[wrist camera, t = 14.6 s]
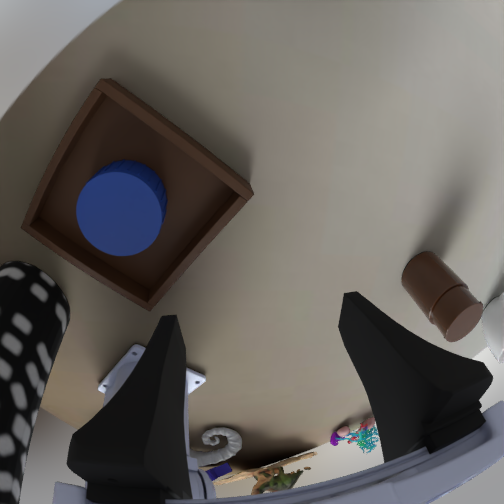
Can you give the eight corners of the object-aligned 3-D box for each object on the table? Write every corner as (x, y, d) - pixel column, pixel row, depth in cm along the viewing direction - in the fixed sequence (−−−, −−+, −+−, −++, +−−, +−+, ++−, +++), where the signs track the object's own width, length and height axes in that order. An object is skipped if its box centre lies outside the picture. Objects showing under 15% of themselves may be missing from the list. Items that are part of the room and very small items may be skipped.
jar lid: (161, 152, 17) (154, 163, 15) (173, 231, 20) (170, 252, 18) (81, 167, 17) (65, 179, 15) (99, 241, 20) (88, 261, 17)
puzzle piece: (218, 467, 33) (225, 477, 32) (232, 458, 43) (237, 466, 42) (157, 491, 31) (163, 500, 30) (183, 480, 41) (187, 487, 41)
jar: (415, 297, 27) (454, 349, 21) (393, 279, 26) (436, 335, 19) (444, 264, 26) (489, 312, 20) (425, 242, 24) (476, 293, 18)
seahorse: (224, 419, 31) (82, 455, 28) (256, 467, 34) (130, 497, 32) (218, 391, 36) (88, 429, 33) (248, 442, 39) (131, 473, 37)
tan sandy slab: (273, 493, 47) (266, 460, 51) (335, 486, 40) (326, 447, 44) (198, 512, 35) (190, 471, 40) (263, 517, 28) (252, 466, 33)
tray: (152, 295, 23) (150, 311, 21) (32, 216, 18) (20, 227, 17) (250, 184, 20) (254, 194, 18) (110, 78, 15) (100, 78, 13)
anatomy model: (346, 444, 34) (334, 465, 37) (396, 429, 35) (381, 452, 38) (334, 416, 38) (325, 439, 41) (382, 404, 40) (369, 428, 43)
